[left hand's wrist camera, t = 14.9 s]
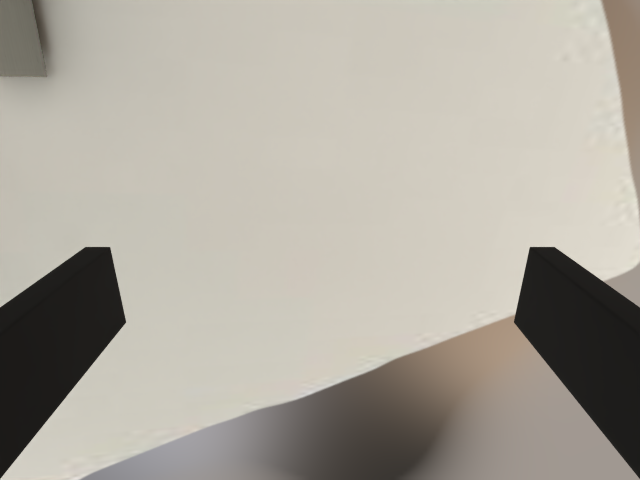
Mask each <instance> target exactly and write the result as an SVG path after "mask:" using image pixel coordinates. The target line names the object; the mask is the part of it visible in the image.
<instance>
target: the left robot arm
mask: <svg viewBox="0 0 640 480" xmlns="http://www.w3.org/2000/svg"><path fill="white" fill-rule="evenodd" d="M125 323H126V320H125V315H124V310H123V306H122V301H121V296H120V292H119V287H118V282H117V278H116V273H115V268H114V263H113V259H112V254H111V249H110V247H85V248H84V249H82V250H81V251H79V252H78V253H77V254H75V255H74V256H72V257H71V258H70V259H68V260H67V261H65V262H64V263H62V264H61V265H60V266H58V267H57V268H55V269H54V270H53V271H51V272H50V273H48V274H47V275H46V276H44V277H43V278H41V279H40V280H38V281H37V282H36V283H34V284H33V285H31V286H30V287H29V288H27V289H26V290H24V291H23V292H22V293H20V294H19V295H17V296H16V297H14V298H13V299H12V300H10V301H9V302H7V303H6V304H5V305H3V306H2V307H0V478H1V477H2V476H3V475H4V473H5V472H6V471H7V470H8V468H9V467H10V466H11V465H12V463H13V462H14V461H15V460H16V458H17V457H18V456H19V455H20V454H21V452H22V451H23V450H24V449H25V447H26V446H27V445H28V444H29V442H30V441H31V440H32V439H33V437H34V436H35V435H36V434H37V432H38V431H39V430H40V429H41V427H42V426H43V425H44V424H45V422H46V421H47V420H48V419H49V417H50V416H51V415H52V414H53V412H54V411H55V410H56V409H57V407H58V406H59V405H60V404H61V403H62V401H63V400H64V399H65V398H66V396H67V395H68V394H69V393H70V391H71V390H72V389H73V388H74V386H75V385H76V384H77V383H78V381H79V380H80V379H81V378H82V376H83V375H84V374H85V373H86V371H87V370H88V369H89V368H90V366H91V365H92V364H93V363H94V361H95V360H96V359H97V358H98V357H99V355H100V354H101V353H102V352H103V350H104V349H105V348H106V347H107V345H108V344H109V343H110V342H111V340H112V339H113V338H114V337H115V335H116V334H117V333H118V332H119V330H120V329H121V328H122V327H123V325H124V324H125ZM514 323H515V324H516V325H517V327H518V328H519V329H520V330H521V332H522V333H523V334H524V335H525V337H526V338H527V339H528V340H529V342H530V343H531V344H532V345H533V347H534V348H535V349H536V350H537V352H538V353H539V354H540V355H541V357H542V358H543V359H544V360H545V361H546V363H547V364H548V365H549V366H550V368H551V369H552V370H553V371H554V372H555V374H556V375H557V376H558V378H559V379H560V380H561V381H562V383H563V384H564V385H565V386H566V388H567V389H568V390H569V391H570V392H571V394H572V395H573V396H574V398H575V399H576V400H577V401H578V403H579V404H580V405H581V406H582V407H583V409H584V410H585V411H586V412H587V414H588V415H589V416H590V417H591V419H592V420H593V421H594V422H595V424H596V425H597V426H598V427H599V429H600V430H601V431H602V432H603V434H604V435H605V436H606V437H607V439H608V440H609V441H610V442H611V444H612V445H613V446H614V447H615V449H616V450H617V451H618V452H619V453H620V455H621V456H622V457H623V458H624V460H625V461H626V462H627V463H628V465H629V466H630V467H631V468H632V470H633V471H634V472H635V473H636V475H637V476H638V477H639V478H640V307H638V306H637V305H635V304H634V303H633V302H631V301H630V300H628V299H627V298H626V297H624V296H623V295H621V294H620V293H618V292H617V291H616V290H614V289H613V288H611V287H610V286H609V285H607V284H606V283H604V282H603V281H602V280H600V279H599V278H597V277H596V276H594V275H593V274H592V273H590V272H589V271H587V270H586V269H585V268H583V267H582V266H580V265H579V264H578V263H576V262H575V261H573V260H572V259H570V258H569V257H568V256H566V255H565V254H563V253H562V252H561V251H559V250H558V249H556V248H555V247H530V249H529V254H528V259H527V263H526V268H525V273H524V278H523V282H522V287H521V292H520V296H519V301H518V306H517V310H516V315H515V320H514Z"/></svg>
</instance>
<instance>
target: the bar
mask: <svg viewBox="0 0 640 480" xmlns="http://www.w3.org/2000/svg"><path fill="white" fill-rule="evenodd" d="M0 76H9V77H47V73H46V68H45V63H44V58H43V53H42V48H41V43H40V39H39V34H38V29H37V24H36V19H35V14H34V9H33V4H32V0H0Z"/></svg>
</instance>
